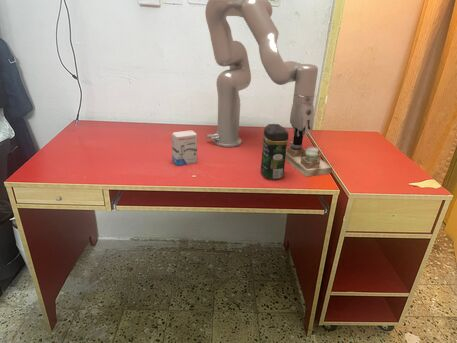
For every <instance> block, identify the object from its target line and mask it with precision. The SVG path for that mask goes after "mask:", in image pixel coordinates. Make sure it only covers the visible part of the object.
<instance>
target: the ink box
mask: <svg viewBox="0 0 457 343" xmlns="http://www.w3.org/2000/svg"><path fill="white" fill-rule="evenodd" d="M171 153H172V162H173V164H175V165H176V166H184V165H190V164H195V163H197V161H198V133H196V132H195V131H194V130H183V131H174V132H172V133H171Z"/></svg>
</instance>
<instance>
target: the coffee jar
mask: <svg viewBox="0 0 457 343" xmlns="http://www.w3.org/2000/svg"><path fill="white" fill-rule="evenodd" d="M262 138H263V140H262V152H261V162H260V172H261V174H262V175H263V177H264V178H265V179H268V180H269V179H270V180H280V179H282V178H284V175H285V166H286V165H285V164H286V160H285V156H286V151H287V148H288V142H289V131H288V130H287V129H286V128H285V126H284V127H283V126H282V125H280V124H278V123H269V124H267V125H266V126H265V127H264V131H263V137H262Z"/></svg>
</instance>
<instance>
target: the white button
mask: <svg viewBox="0 0 457 343" xmlns="http://www.w3.org/2000/svg"><path fill="white" fill-rule="evenodd" d="M306 149H307V150H314V151H317V152H318V153H319V148H318V147H316V146H307V147H306Z"/></svg>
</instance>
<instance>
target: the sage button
mask: <svg viewBox="0 0 457 343" xmlns="http://www.w3.org/2000/svg"><path fill="white" fill-rule="evenodd" d="M318 153H319V151H318V152H317V151H314V150H307V151H306V153H305V155H306V158H305V159H306V160H307V161H308V162H312V161H316V157H317V155H318Z"/></svg>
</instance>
